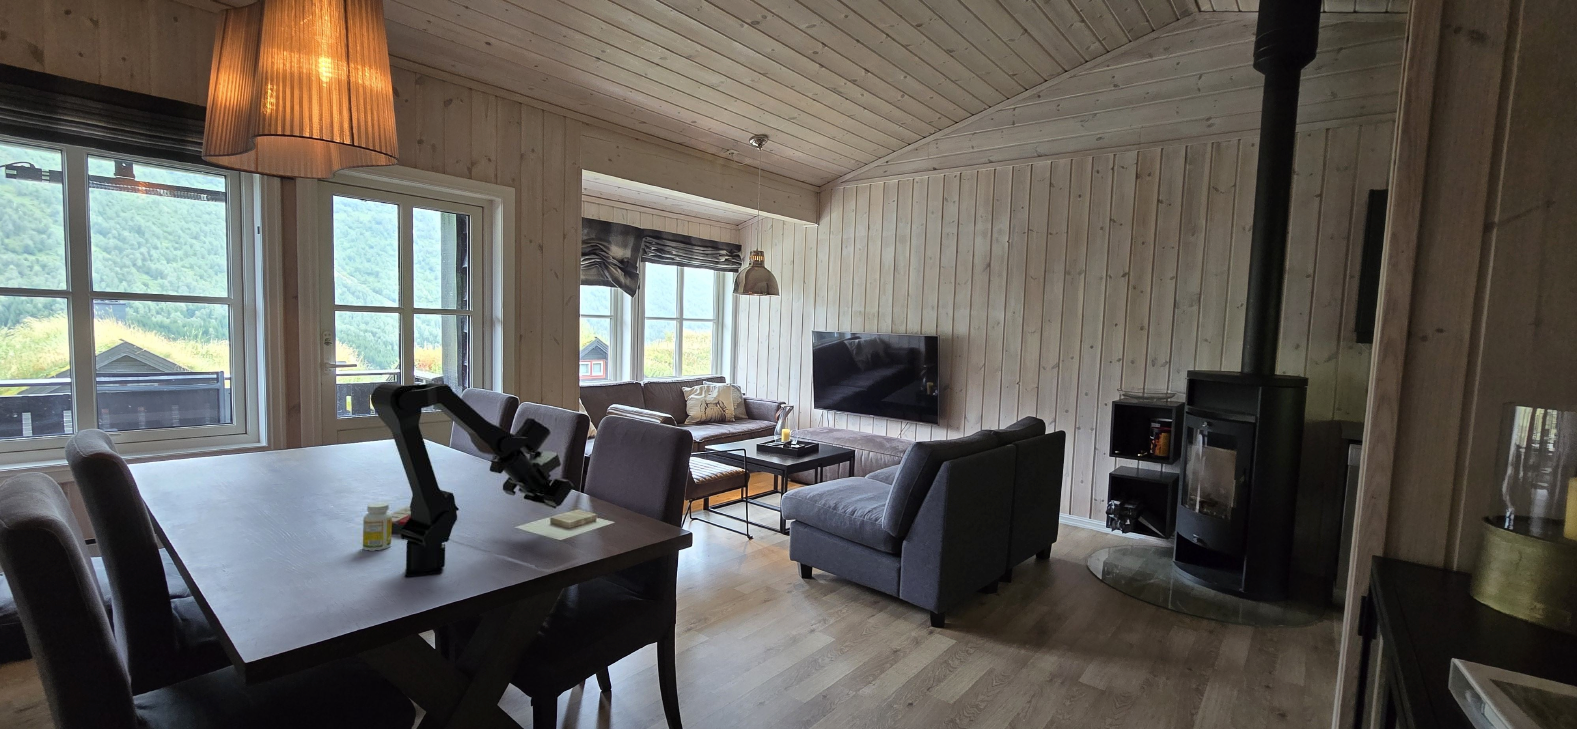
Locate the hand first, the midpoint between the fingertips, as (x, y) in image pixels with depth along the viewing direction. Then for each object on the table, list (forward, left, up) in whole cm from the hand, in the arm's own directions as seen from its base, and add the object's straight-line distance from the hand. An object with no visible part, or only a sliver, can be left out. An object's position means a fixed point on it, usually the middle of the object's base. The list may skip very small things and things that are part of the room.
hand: (555, 506), depth 163 cm
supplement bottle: (-38, -1, -6) cm, 38 cm away
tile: (+1, +1, -4) cm, 5 cm away
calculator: (-31, +13, -7) cm, 34 cm away
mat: (+3, +2, -6) cm, 7 cm away
